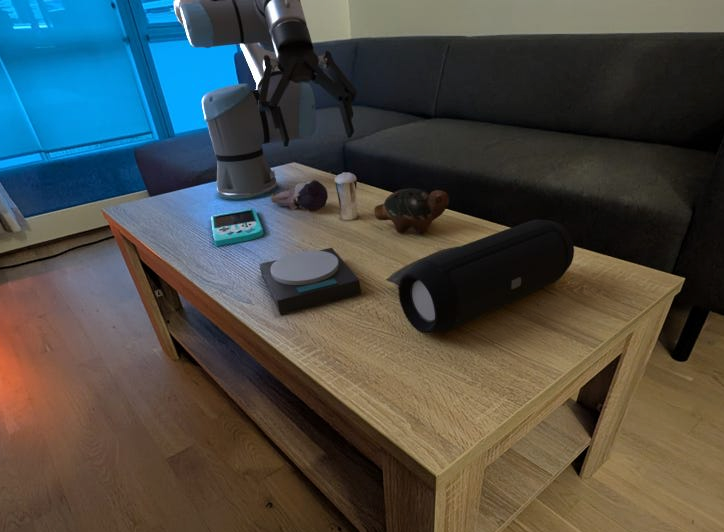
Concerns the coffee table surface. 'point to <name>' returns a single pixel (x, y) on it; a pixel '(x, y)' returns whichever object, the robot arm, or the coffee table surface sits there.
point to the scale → (308, 280)
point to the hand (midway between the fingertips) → (319, 139)
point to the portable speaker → (484, 275)
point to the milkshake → (347, 194)
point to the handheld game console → (236, 227)
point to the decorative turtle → (412, 209)
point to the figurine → (303, 196)
